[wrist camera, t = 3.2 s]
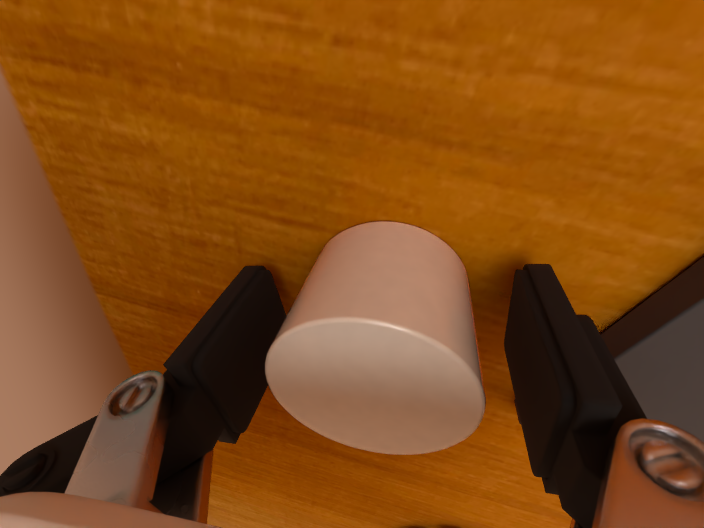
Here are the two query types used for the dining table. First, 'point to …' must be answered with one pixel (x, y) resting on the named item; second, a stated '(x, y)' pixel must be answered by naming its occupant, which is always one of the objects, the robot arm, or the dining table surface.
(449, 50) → the dining table surface
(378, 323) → the white cylinder
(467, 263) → the dining table surface
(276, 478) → the dining table surface
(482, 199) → the dining table surface
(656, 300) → the board
